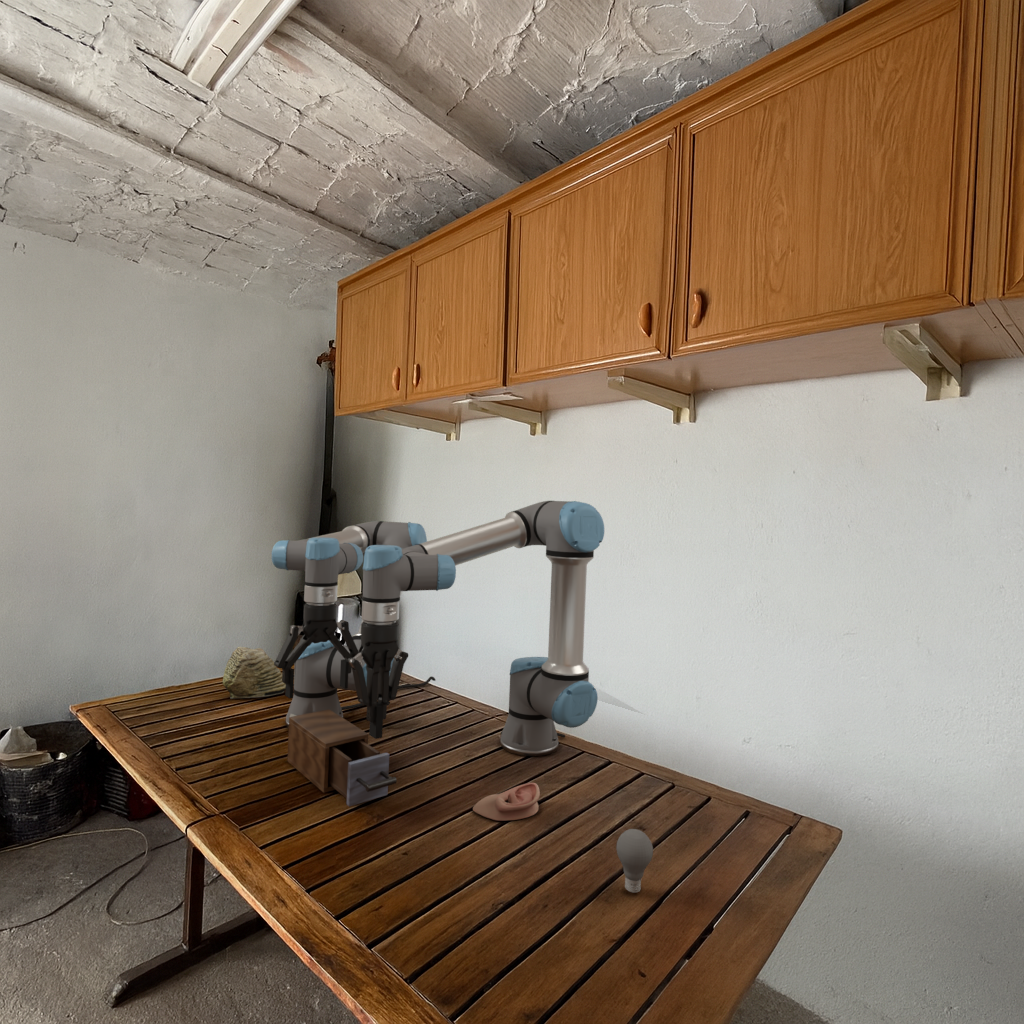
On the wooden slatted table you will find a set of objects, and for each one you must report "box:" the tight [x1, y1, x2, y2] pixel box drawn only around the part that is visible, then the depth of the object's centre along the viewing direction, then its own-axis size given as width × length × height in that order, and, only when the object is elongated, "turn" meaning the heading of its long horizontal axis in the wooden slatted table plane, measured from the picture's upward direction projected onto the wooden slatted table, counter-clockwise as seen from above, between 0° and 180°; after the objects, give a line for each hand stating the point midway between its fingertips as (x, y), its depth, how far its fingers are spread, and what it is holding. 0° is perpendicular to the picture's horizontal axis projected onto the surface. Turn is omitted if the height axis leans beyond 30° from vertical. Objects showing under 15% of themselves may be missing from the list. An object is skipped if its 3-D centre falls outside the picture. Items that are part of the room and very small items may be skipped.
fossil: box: [222, 646, 286, 699], centre depth 198 cm, size 9×18×15 cm, turn 132°
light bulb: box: [615, 828, 654, 894], centre depth 106 cm, size 6×6×10 cm
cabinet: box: [287, 709, 369, 794], centre depth 146 cm, size 20×10×11 cm, turn 41°
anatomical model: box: [472, 782, 541, 822], centre depth 132 cm, size 13×4×12 cm
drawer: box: [328, 740, 398, 808], centre depth 136 cm, size 24×9×9 cm, turn 41°
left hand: (317, 692), depth 151 cm, fingers open, 13 cm apart
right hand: (375, 736), depth 129 cm, fingers closed
